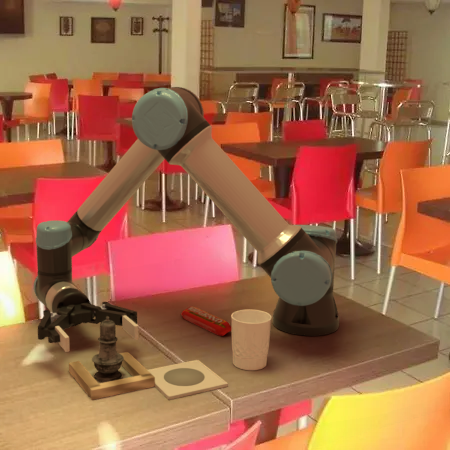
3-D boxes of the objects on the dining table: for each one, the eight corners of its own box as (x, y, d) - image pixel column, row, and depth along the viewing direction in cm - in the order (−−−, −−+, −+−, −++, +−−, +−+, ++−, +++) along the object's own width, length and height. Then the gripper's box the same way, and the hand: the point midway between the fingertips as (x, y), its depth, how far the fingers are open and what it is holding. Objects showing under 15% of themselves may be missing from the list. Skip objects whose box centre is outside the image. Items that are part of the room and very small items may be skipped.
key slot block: (127, 360, 143) (127, 351, 142) (154, 386, 132) (154, 377, 131) (69, 371, 137) (68, 362, 137) (92, 399, 126) (91, 390, 126)
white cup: (257, 375, 138) (259, 326, 135) (222, 365, 142) (223, 317, 139) (276, 361, 144) (278, 314, 142) (242, 352, 148) (244, 306, 146)
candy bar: (178, 318, 167) (178, 306, 167) (190, 315, 170) (191, 303, 169) (222, 339, 156) (222, 326, 155) (234, 336, 158) (235, 323, 157)
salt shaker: (117, 384, 132) (117, 322, 130) (87, 380, 133) (86, 319, 131) (128, 371, 138) (128, 312, 135) (99, 367, 139) (98, 309, 136)
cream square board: (197, 362, 143) (197, 359, 143) (227, 386, 133) (227, 382, 132) (141, 373, 137) (141, 370, 137) (168, 399, 127) (168, 396, 127)
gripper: (123, 312, 160) (163, 346, 142) (9, 330, 148) (37, 369, 130) (123, 280, 158) (163, 309, 140) (8, 295, 146) (35, 330, 128)
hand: (102, 338), depth 135 cm, fingers open, 13 cm apart
